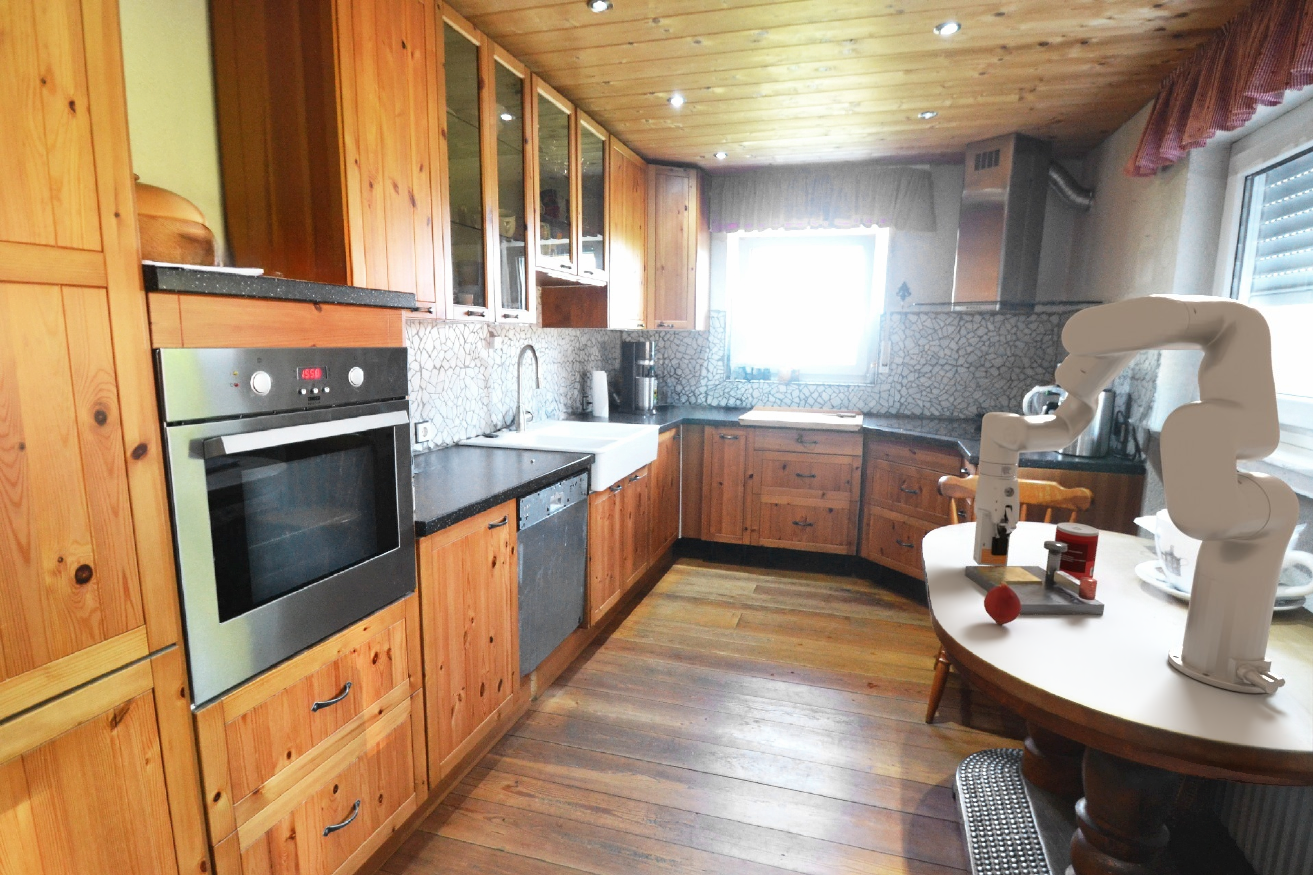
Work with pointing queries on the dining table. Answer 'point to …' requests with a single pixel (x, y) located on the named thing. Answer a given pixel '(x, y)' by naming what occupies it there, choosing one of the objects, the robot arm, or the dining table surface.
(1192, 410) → the robot arm
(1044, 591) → the press bed
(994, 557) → the skincare box
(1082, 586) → the lever
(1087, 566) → the canned food
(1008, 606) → the onion
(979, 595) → the dining table surface
